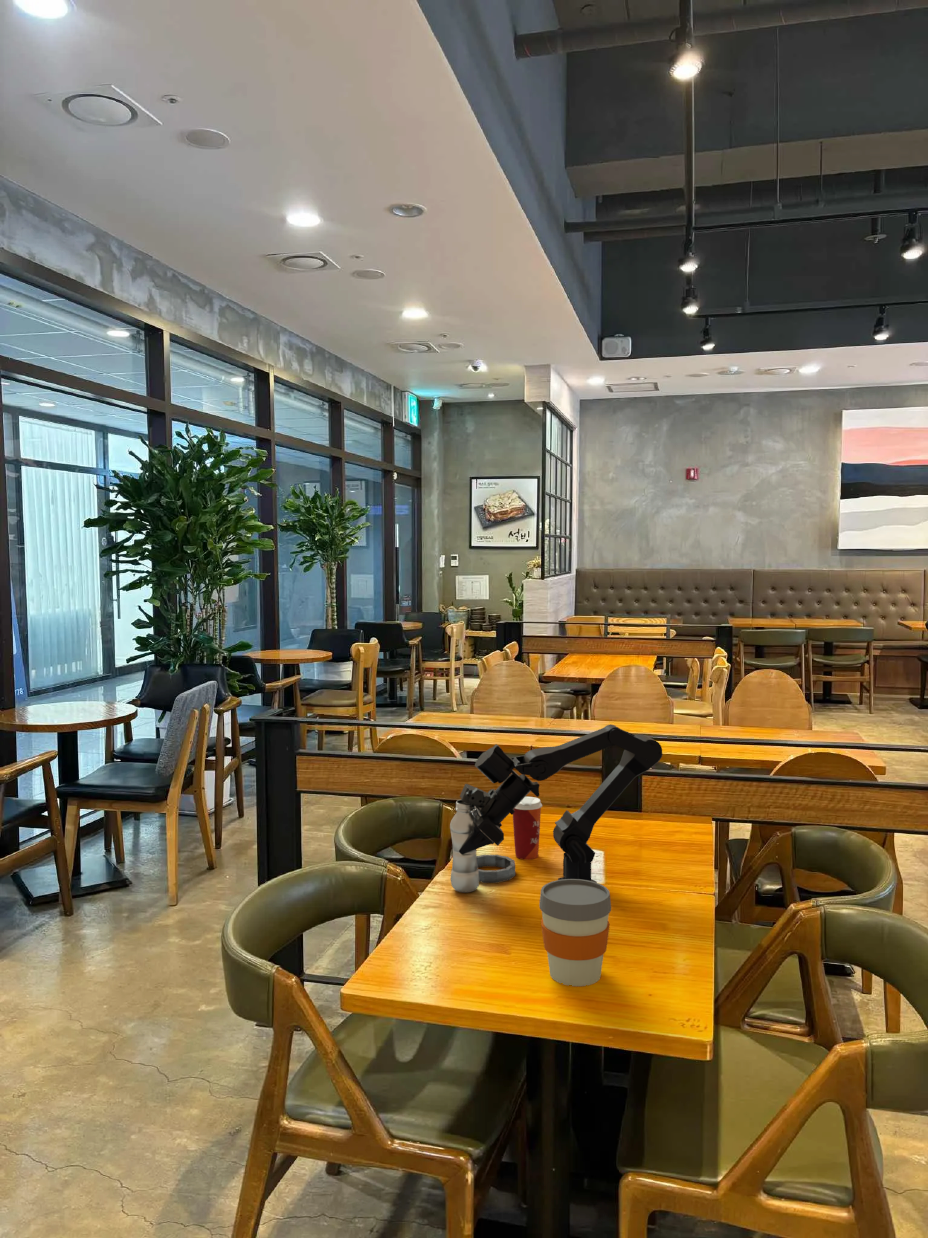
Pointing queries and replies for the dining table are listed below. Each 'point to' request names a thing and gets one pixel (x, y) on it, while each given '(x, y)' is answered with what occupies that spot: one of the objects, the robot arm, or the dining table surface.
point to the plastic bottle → (465, 864)
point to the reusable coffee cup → (575, 929)
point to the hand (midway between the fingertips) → (458, 848)
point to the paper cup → (527, 828)
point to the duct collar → (495, 875)
